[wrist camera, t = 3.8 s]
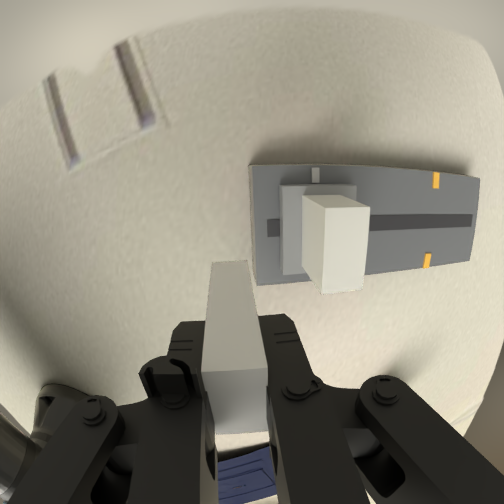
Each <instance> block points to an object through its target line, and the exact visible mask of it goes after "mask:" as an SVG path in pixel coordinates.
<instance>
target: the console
mask: <svg viewBox="0 0 504 504" xmlns="http://www.w3.org/2000/svg"><path fill="white" fill-rule="evenodd" d="M291 184H352V185H356V186H357V193H356V201H357V202H359V203H362V204H364V205H366V206H369V207H370V219H369V233H368V245H367V255H366V264H365V273H364V275H370V274H378V273H386V272H394V271H402V270H410V269H417V268H429V267H431V266H438V265H445V264H452V263H458V262H465V261H469V260H470V255H471V250H472V245H473V239H474V233H475V226H476V218H477V210H478V200H479V188H480V178H476V177H472V176H467V175H462V174H454V173H447V172H439V171H431V170H421V169H411V168H400V167H387V166H371V165H349V164H261V165H249V185H250V209H251V232H252V256H253V273H254V277H255V281H256V285H257V286H261V285H273V284H284V283H295V282H305V281H312V280H311V279H310V277H309V276H308V274H307V273H302V274H291V275H283V274H282V272H281V270H280V198H279V185H291Z"/></svg>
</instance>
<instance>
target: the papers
mask: <svg viewBox="0 0 504 504" xmlns="http://www.w3.org/2000/svg"><path fill="white" fill-rule="evenodd" d="M217 467H218V498H219V504H244V503H248V502H252V501H256V500H259V499H263V498H266V497H270V496H273V495H276V494H277V490H276V484H275V478H274V472H273V466H272V460H271V458H269V446H268V447H265V448H263V449H260V450H257V451H254V452H251V453H249V454H246V455H243V456H240V457H236V458H233V459H229V460H226V461H222V462H218V463H217Z"/></svg>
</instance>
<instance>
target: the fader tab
mask: <svg viewBox="0 0 504 504" xmlns="http://www.w3.org/2000/svg"><path fill="white" fill-rule="evenodd" d="M356 193H357V186H356V185H352V184H291V185H279V198H280V270H281V272H282V274H283V275H291V274H302V273H307V274H308V276H309V277H310V279H311V280H312V282H313V283H314V285H315V286H316V288H317V289H318V291H319V292H320V294H321V295H324V294H332V293H341V292H348V291H356V290H362V288H363V281H364V273H365V264H366V255H367V245H368V233H369V219H370V207H369V206H366V205H364V204H362V203H359V202H357V201H356Z"/></svg>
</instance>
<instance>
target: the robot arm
mask: <svg viewBox="0 0 504 504" xmlns="http://www.w3.org/2000/svg"><path fill="white" fill-rule="evenodd" d="M168 350H169V351H168V353H167V356H160V357H157V358H155V359H152V360H150V361H149V362H148V363H146V364H145V365H144V366H143V367H142V368H141V370H140V372H139V373H138V374H139V376H140V379H141V381H142V384H143V386H144V389H145V391H146V393H147V396H148V398H147V399H145V400H143V401H141V402H137V403H133V404H128V405H122V406H116V405H115V403H114V402H113V400H111V399H109V398H107V397H105V396H99V395H95V396H88V395H86V394H84V393H82V392H80V391H78V390H75V389H73V388H70V387H67V386H64V385H59V384H49V385H46V386H44V387H43V388H42V389H41V391H40V393H39V395H38V396H37V399H36V405H35V414H34V425H33V431H32V433H31V436H30V438H29V437H27V436H26V435H25V434H24V433H23V432H21V431H20V430H19V429H18V428H17V427H16V426H15V425H14V424H12V423H11V422H10V421H9V420H8V419H7V418H6V417H5V416H4V415H3V414H2V413H1V412H0V498H1V499H3V500H4V502H3V504H219V498H218V467H217V448H216V445H215V432H216V435H217V434H239V433H252V432H263V431H269V437H270V446H269V458H271V460H272V466H273V472H274V478H275V484H276V490H277V496H278V502H279V504H370V501H369V499H368V496H367V493H366V491H367V492H368V493H369V495H370V496H371V497H372V499H373V500H374V501H375V503H376V504H504V475H502V474H501V473H500V472H499V471H498V470H497V469H496V468H495V467H494V466H493V465H492V464H491V463H490V462H489V461H488V460H487V459H486V458H484V456H482V455H481V454H480V453H479V452H478V451H477V450H476V449H475V448H474V447H473V446H472V445H471V444H470V443H468V441H466V439H465V438H464V437H462V436H461V435H460V434H459V433H458V432H457V431H456V430H455V429H454V428H453V427H452V426H451V425H450V424H449V423H448V422H447V421H445V420H444V419H443V418H442V417H441V416H440V415H439V414H438V413H437V412H436V411H435V410H434V409H433V408H432V407H430V406H429V405H428V404H427V403H426V402H425V401H424V400H423V399H422V398H421V397H420V396H419V395H418V394H417V393H415V392H414V391H413V390H412V389H411V388H410V387H409V386H408V385H407V384H406V383H405V382H403V381H401V380H400V379H398V378H396V377H393V376H389V375H378V376H375V377H371V378H369V379H368V380H366V381H365V382H364V383H363V384H362V386H361V388H360V389H347V388H336V387H332V386H329V385H326V384H324V383H323V381H322V380H321V379H320V378H319V377H317V376H315V375H314V373H313V372H312V369H311V366H310V364H309V361H308V358H307V356H306V353H305V351H304V348H303V345H302V343H301V341H300V337H299V335H298V333H297V329H296V327H295V324H294V322H293V321H292V320H291V319H290V318H289V317H288V316H286V315H285V314H276V315H265V316H258V315H257V310H256V305H255V299H254V294H253V289H252V284H251V279H250V273H249V268H248V263H247V260H243V261H228V262H213V263H212V267H211V275H210V284H209V293H208V302H207V312H206V321H187V322H180V324H179V325H178V326H177V327H176V328H175V329H174V330H173V333H172V337H171V343H170V345H169V349H168ZM365 489H366V490H365Z"/></svg>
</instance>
